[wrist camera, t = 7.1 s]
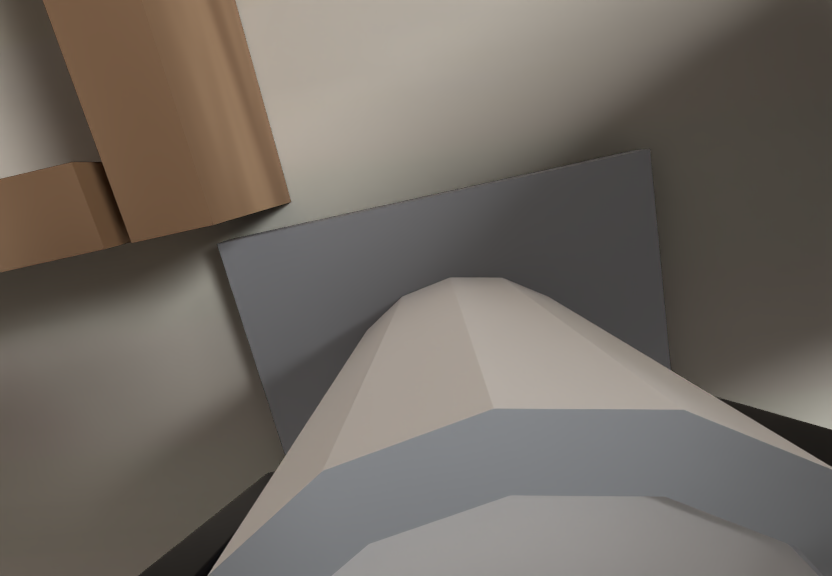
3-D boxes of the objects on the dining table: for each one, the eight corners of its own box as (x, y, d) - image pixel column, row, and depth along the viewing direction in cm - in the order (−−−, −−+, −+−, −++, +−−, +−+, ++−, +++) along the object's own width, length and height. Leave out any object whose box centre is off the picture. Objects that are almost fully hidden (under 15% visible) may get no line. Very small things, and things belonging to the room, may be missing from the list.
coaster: (637, 149, 10) (649, 149, 10) (673, 509, 12) (685, 526, 12) (227, 239, 11) (216, 244, 10) (331, 567, 13) (327, 586, 12)
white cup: (428, 571, 12) (438, 1093, 5) (257, 356, 11) (-23, 686, 4) (678, 436, 11) (1087, 860, 4) (526, 180, 10) (773, 212, 3)
